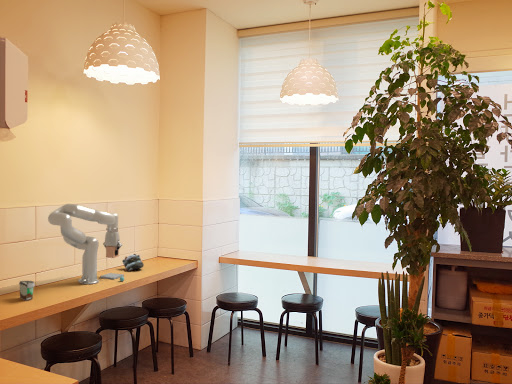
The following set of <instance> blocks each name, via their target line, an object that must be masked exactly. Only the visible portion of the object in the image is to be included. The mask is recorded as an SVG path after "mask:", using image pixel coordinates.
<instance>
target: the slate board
mask: <svg viewBox="0 0 512 384" xmlns="http://www.w3.org/2000/svg"><path fill="white" fill-rule="evenodd" d="M124 276H125V274H121V273H112V272H110V273H109V272H108V273H107V274H106V273H105V274H102V275H100V276H99V278H100V279H108V280H117V279H120V277H124Z"/></svg>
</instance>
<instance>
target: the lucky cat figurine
mask: <svg viewBox="0 0 512 384" xmlns="http://www.w3.org/2000/svg"><path fill="white" fill-rule="evenodd" d="M122 264H123V266H124V268H125V271H126V272H130V271H134V270H140V269H143V267H144V266H145V265H144V263H143V261H142V259H141V255H140V254H136V253H133V254H130V255H128V256H125V257H124V258H123V259H122Z"/></svg>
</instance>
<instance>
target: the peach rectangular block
mask: <svg viewBox="0 0 512 384" xmlns="http://www.w3.org/2000/svg"><path fill="white" fill-rule="evenodd" d="M115 250H116V249H115V246H106V248H105V258H111V259H115V258H118V257H119V256H120V255H119V254H120V252H119V251H120V249H119V250H118V255H116V256H115Z"/></svg>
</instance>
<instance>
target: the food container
mask: <svg viewBox="0 0 512 384" xmlns="http://www.w3.org/2000/svg"><path fill="white" fill-rule="evenodd" d="M18 283H19V284H18V285H19V299H21V300H23V301H25V302H29V301H32V300H33V298H34V297H33V296H34V287H35V286H36V285H35V282H34V281H33V280H19V282H18Z"/></svg>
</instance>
